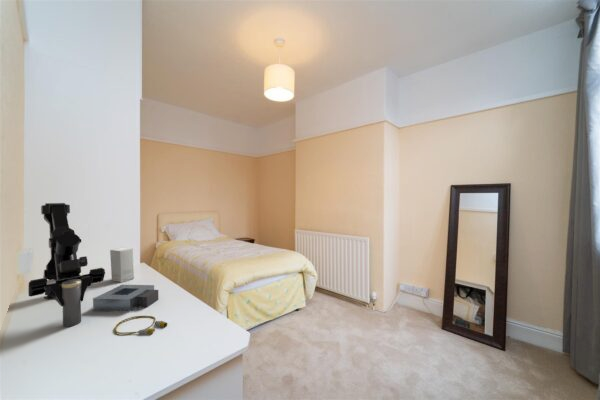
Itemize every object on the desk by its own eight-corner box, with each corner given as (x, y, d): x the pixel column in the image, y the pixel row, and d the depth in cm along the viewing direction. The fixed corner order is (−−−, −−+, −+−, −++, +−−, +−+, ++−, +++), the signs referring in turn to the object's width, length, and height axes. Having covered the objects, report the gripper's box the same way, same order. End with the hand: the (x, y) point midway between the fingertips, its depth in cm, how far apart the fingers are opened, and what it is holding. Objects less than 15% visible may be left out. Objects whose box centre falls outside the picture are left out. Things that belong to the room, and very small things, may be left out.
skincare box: (134, 278, 124) (134, 248, 124) (120, 283, 118) (119, 251, 118) (124, 276, 128) (124, 246, 127) (110, 280, 122) (109, 249, 121)
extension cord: (124, 347, 70) (124, 340, 70) (109, 327, 80) (109, 321, 80) (169, 328, 79) (169, 322, 79) (150, 313, 89) (150, 308, 89)
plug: (58, 326, 79) (57, 283, 79) (72, 319, 84) (71, 278, 83) (72, 327, 79) (71, 284, 79) (85, 319, 83) (84, 279, 83)
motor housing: (93, 310, 90) (92, 298, 90) (122, 295, 104) (122, 284, 104) (140, 311, 90) (140, 299, 89) (163, 295, 104) (163, 285, 103)
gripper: (28, 255, 76) (30, 300, 69) (103, 245, 90) (112, 282, 84) (27, 274, 81) (29, 318, 75) (98, 262, 96) (106, 298, 89)
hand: (72, 303), depth 80 cm, fingers closed on plug, 4 cm apart
